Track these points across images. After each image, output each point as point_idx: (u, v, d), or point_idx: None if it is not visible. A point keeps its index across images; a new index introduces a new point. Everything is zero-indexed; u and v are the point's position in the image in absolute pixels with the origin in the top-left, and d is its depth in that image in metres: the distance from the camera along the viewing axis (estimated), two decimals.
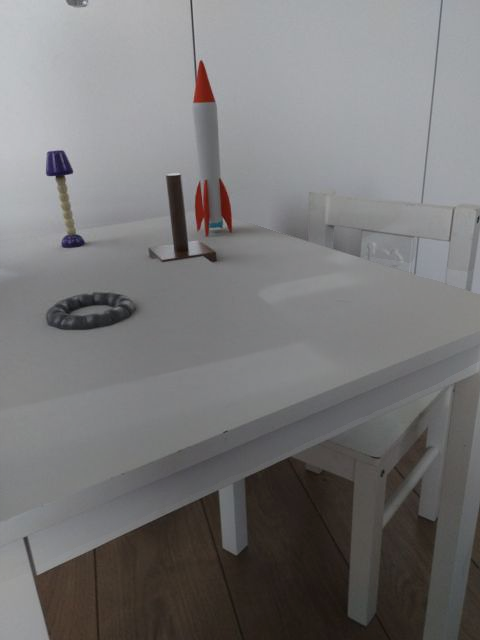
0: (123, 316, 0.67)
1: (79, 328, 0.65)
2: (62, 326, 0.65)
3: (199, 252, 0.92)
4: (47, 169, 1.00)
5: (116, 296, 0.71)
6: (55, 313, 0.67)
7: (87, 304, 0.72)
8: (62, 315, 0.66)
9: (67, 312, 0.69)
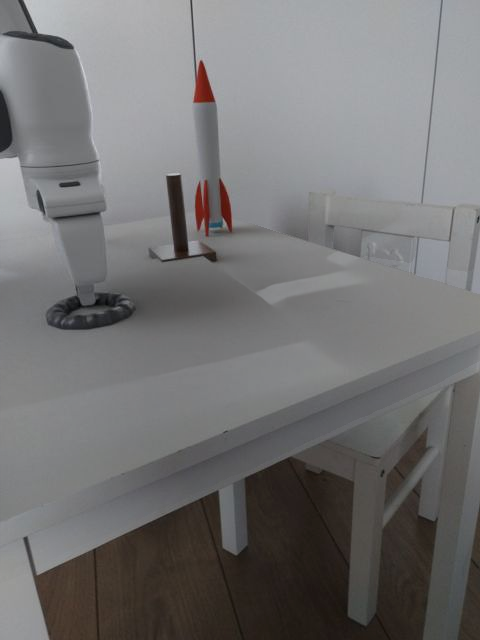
0: (123, 316, 0.67)
1: (79, 328, 0.65)
2: (62, 326, 0.65)
3: (199, 252, 0.92)
4: None
5: (116, 296, 0.71)
6: (55, 313, 0.67)
7: None
8: (62, 315, 0.66)
9: (67, 312, 0.69)
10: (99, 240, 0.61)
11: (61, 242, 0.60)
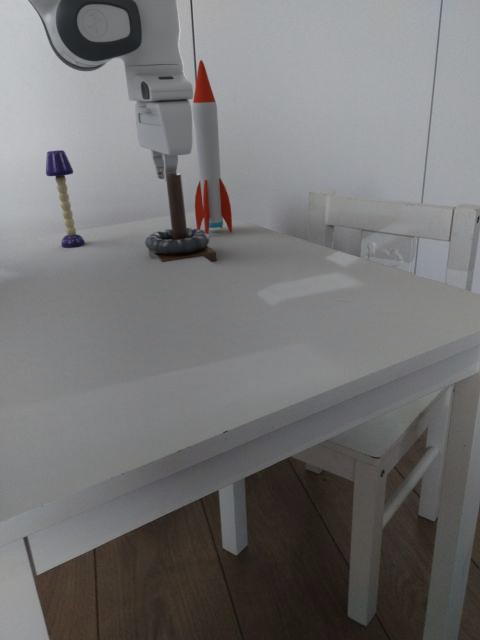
0: (202, 242, 0.92)
1: (172, 248, 0.90)
2: (160, 247, 0.90)
3: (199, 252, 0.92)
4: (47, 169, 1.00)
5: (195, 230, 0.96)
6: (153, 238, 0.92)
7: None
8: (159, 239, 0.91)
9: None
10: (188, 119, 0.82)
11: (161, 119, 0.81)
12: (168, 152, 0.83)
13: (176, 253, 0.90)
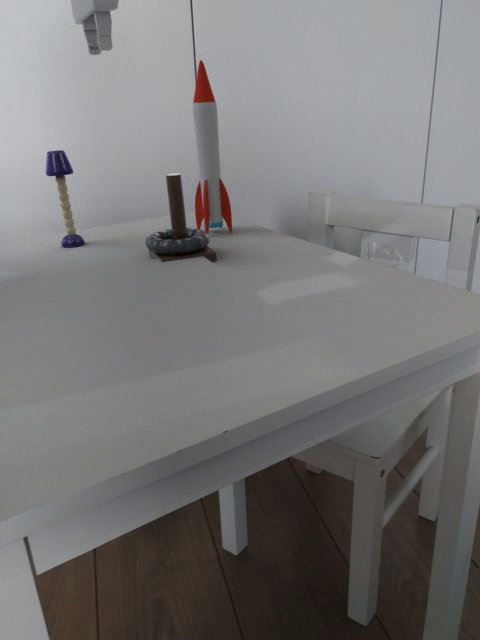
0: (202, 242, 0.92)
1: (172, 248, 0.90)
2: (160, 247, 0.90)
3: (199, 252, 0.92)
4: (47, 169, 1.00)
5: (195, 230, 0.96)
6: (153, 238, 0.92)
7: None
8: (159, 239, 0.91)
9: None
10: None
11: None
12: (92, 4, 0.76)
13: (176, 253, 0.90)
